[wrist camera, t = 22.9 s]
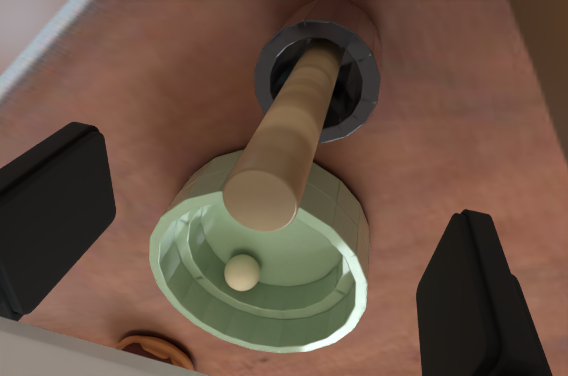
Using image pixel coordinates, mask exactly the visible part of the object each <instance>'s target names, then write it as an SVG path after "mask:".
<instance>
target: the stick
mask: <svg viewBox="0 0 568 376" xmlns="http://www.w3.org/2000/svg"><path fill="white" fill-rule="evenodd" d="M344 52H345V48H344V47H342V46H340V45H338V44H336V43H334V42H332V41H330V40H328V39H315V38H312V39H311V40H310V42H309V44H308V45H307V47H306V49H305V50H304V52H303V54H302V55H301V57H300V59H299V60H298V62H297V64H296V65H295V67H294V69H293V70H292V72H291V74H290V75H289V77H288V78H287V80H286V82H285V83H284V85H283V87H282V88H281V90H280V92H279V93H278V95H277V97H276V98H275V100H274V102H273V103H272V105H271V107H270V108H269V110H268V112H267V113H266V115H265V117H264V118H263V120H262V122H261V123H260V125H259V126H258V128H257V130H256V131H255V133H254V135H253V136H252V138H251V140H250V141H249V143H248V145H247V146H246V148H245V150H244V151H243V153H242V155H241V156H240V158H239V160H238V161H237V163H236V165H235V166H234V168H233V170H232V171H231V173H230V175H229V176H228V178H227V179H226V181H225V183H224V186H223V192H222V195H223V201H224V205H225V207H226V209H227V211H228V212H229V214H230V215H231V216H232V217H233V218H234V219H235V220H236V221H237V222H239V223H240V224H242V225H243V226H245V227H247V228H249V229H252V230H256V231H261V232H272V231H277V230H280V229H283V228H284V227H286V226H288V225H289V224H290V223H291V222H292V221H293V220H294V219H295V217H296V215H297V213H298V209H299V206H300V202H301V199H302V196H303V192H304V189H305V185H306V182H307V179H308V175H309V172H310V168H311V165H312V162H313V158H314V155H315V151H316V148H317V144H318V141H319V138H320V134H321V131H322V127H323V124H324V121H325V117H326V114H327V110H328V107H329V104H330V100H331V97H332V93H333V90H334V86H335V83H336V80H337V76H338V73H339V69H340V66H341V63H342V59H343V56H344Z"/></svg>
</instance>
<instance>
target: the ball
mask: <svg viewBox="0 0 568 376" xmlns="http://www.w3.org/2000/svg"><path fill="white" fill-rule="evenodd" d="M224 276H225V280H226V282H227V283H228V285H229V286H230V287H231V288H233V289H235V290H238V291H246V290H249V289H251V288H253V287H254V286H255V285H256V284H257V282H258V280H259V277H260V267H259V265H258V263H257V261H256V260H255V259H254V258H253V257H251V256H249V255H245V254H241V255H237V256H234V257H233V258H231V259H230V260H229V261H228V263H227V264H226V267H225V270H224Z"/></svg>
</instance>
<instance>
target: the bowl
mask: <svg viewBox="0 0 568 376" xmlns="http://www.w3.org/2000/svg"><path fill="white" fill-rule="evenodd" d="M244 150H245V149H244ZM244 150H240V151H237V152H233V153H230V154H226V155H223V156H219V157H216V158H214V159H212V160H211V161H210V162H208V163H207V164H206V165H204V166H203V167H202V168H200V169H199V170H198V171H196V172H195V173H194V174H193V175H192V176H191V177H190V179H189V180H188V181H187V183H186V184H185V185H184V187H183V188H182V189H181V191H180V192H179V194H178V195H177V196H176V197H175V199H174V200H173V201H172V203H171V204H170V205H169V207H168V208H167V209H166V211H165V212H164V213H163V215H162V216H161V218H160V220H159V222H158V223H157V225H156V227H155V229H154V231H153V233H152V234H151V236H150V248H149V263H150V266H151V269H152V271H153V274H154V277H155V280H156V282H157V285H158V287H159V288H160V289H161V291H162V292H163V293H164V294H165V296H166V297H167V298H168V300H169V301H170V302H171V304H172V305H173V306H174V307H175V308H176V309H177V310H178V311H179V312H181V313H182V314H183V315H184V316H185V317H187V318H188V319H189V320H190V321H191V322H193V323H194V324H195V325H197V326H198V327H200V328H202V329H204V330H205V331H207V332H209V333H211V334H213V335H215V336H216V337H218V338H220V339H223V340H225V341H228V342H231V343H234V344H237V345H240V346H243V347H246V348H249V349H253V350H260V351H267V352H274V353H291V352H307V351H312V350H315V349H318V348H321V347H325V346H328V345H331V344H334V343H335V342H337V341H338V340H340V339H341V338H342V337H344V336H345V335H346V334H348V333H349V332H351V331H352V330H353V329H354V328H355V326H356V325H357V323H358V321H359V320H360V318H361V316H362V314H363V313H364V311H365V309H366V306H367V288H368V265H369V242H370V229H369V226H368V223H367V221H366V218H365V215H364V213H363V210H362V207H361V205H360V203H359V202H358V200H357V199H356V198H355V197H354V196H353V194H352V193H351V192H350V191H349V190H348V188H347V187H346V186H345V185H344V184H343V182H342V181H341V180H339V179H338V178H336V177H335V176H333V175H332V174H330V173H329V172H327V171H326V170H324V169H323V168H321V167H320V166H318V165H316V164H315V163H313V162H312V165H311V168H310V172H309V175H308V179H307V182H306V185H305V189H304V192H303V196H302V199H301V202H300V206H299V209H298V213H297V215H296V217H295V219H294V220H293V221H292V222H291V223H290V224H289V225H288V226H286V227H284V228H283V229H280V230H277V231H272V232H261V231H256V230H252V229H249V228H247V227H245V226H243V225H242V224H240V223H239V222H237V221H236V220H235V219H234V218H233V217H232V216H231V215H230V214H229V212H228V211H227V209H226V207H225V205H224V201H223V195H222V192H223V186H224V183H225V181H226V179H227V178H228V176H229V175H230V173H231V171H232V170H233V168H234V166H235V165H236V163H237V161H238V160H239V158H240V156H241V155H242V153H243V151H244ZM241 254H245V255H249V256H251V257H253V258H254V259H255V260H256V261H257V263H258V265H259V267H260V277H259V280H258V282H257V284H256V285H255V286H254V287H253V288H251V289H249V290H246V291H238V290H235V289H233V288H231V287H230V286H229V285H228V283H227V282H226V280H225V276H224V270H225V267H226V264H227V263H228V261H229V260H230V259H231V258H233V257H234V256H237V255H241Z"/></svg>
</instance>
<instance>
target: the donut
mask: <svg viewBox="0 0 568 376" xmlns="http://www.w3.org/2000/svg"><path fill="white" fill-rule="evenodd" d="M116 349H118V350H121V351H125V352H129V353H132V354H136V355H139V356H143V357H146V358H150V359H153V360H157V361H160V362H164V363H168V364H171V365H175V366H178V367H182V368H185V369H189V370H192V371H194V367H193V364H192V362H191V360H190V359H189V357H188V356H187V355H186V354H184V353H183V352H182V351H181V350H179V349H178V348H177V347H175V346H174V345H173V344H171V343H169V342H167V341H165V340H163V339H160V338H156V337H149V336H129V337H126V338H125V339H123V340H122V341H121V342H120V343H118V345H117V346H116Z"/></svg>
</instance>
